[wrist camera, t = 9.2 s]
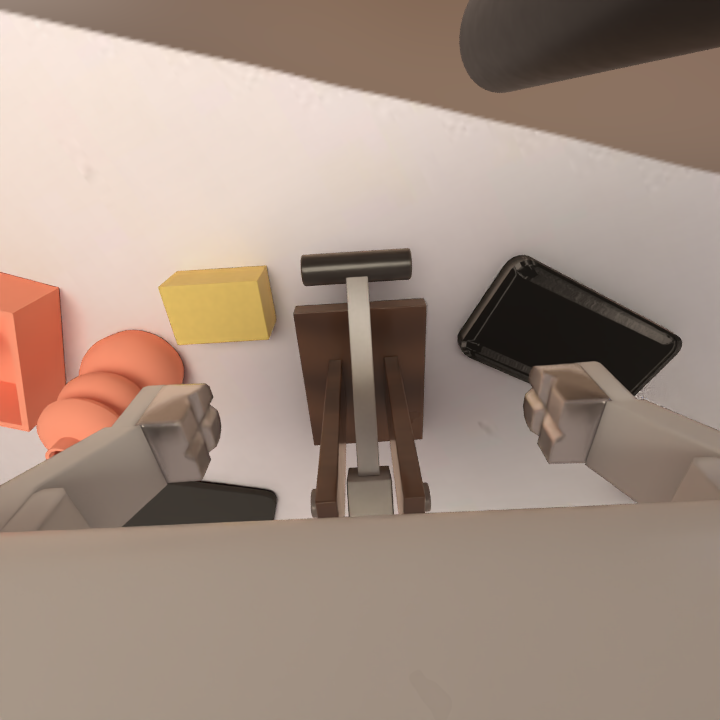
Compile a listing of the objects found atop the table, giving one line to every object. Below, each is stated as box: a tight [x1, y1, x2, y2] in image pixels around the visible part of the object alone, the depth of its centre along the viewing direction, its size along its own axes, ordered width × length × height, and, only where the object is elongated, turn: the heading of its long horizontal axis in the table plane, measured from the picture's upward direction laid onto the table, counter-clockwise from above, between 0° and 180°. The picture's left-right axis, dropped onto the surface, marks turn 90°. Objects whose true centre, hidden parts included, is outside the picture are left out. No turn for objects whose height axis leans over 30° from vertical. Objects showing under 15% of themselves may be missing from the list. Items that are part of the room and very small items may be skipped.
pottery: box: [0, 272, 184, 460], centre depth 24 cm, size 18×10×10 cm, turn 72°
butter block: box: [158, 266, 276, 345], centre depth 26 cm, size 4×6×3 cm, turn 94°
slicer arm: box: [301, 248, 412, 517], centre depth 20 cm, size 14×6×2 cm
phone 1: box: [122, 481, 277, 527], centre depth 37 cm, size 7×1×15 cm
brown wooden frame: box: [293, 298, 431, 518], centre depth 25 cm, size 12×9×14 cm
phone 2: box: [458, 255, 682, 396], centre depth 29 cm, size 8×1×15 cm
